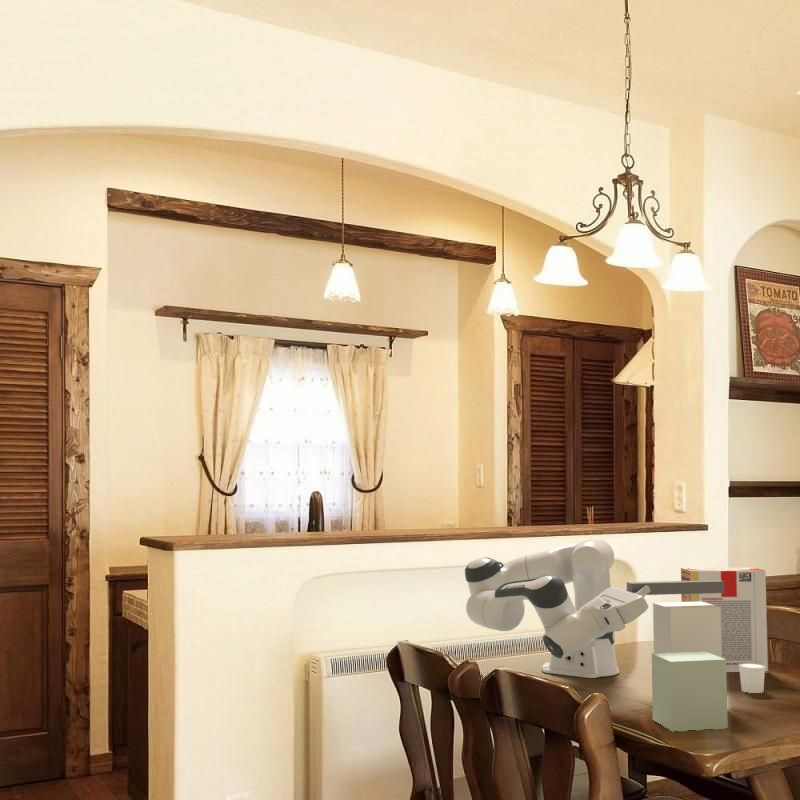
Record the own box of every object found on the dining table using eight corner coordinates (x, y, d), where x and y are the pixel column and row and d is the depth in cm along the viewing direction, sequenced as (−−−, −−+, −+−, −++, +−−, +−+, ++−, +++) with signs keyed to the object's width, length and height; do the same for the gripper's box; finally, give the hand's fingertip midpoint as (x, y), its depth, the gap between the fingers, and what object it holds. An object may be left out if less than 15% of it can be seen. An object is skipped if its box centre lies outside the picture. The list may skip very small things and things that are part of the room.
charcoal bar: (631, 595, 247) (631, 583, 247) (626, 593, 249) (626, 582, 250) (724, 592, 251) (724, 581, 252) (718, 591, 254) (718, 580, 255)
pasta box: (756, 666, 292) (754, 567, 294) (767, 672, 284) (765, 570, 286) (682, 667, 291) (680, 568, 293) (692, 673, 283) (690, 571, 285)
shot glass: (763, 695, 256) (762, 669, 257) (736, 692, 260) (735, 666, 260) (768, 690, 262) (767, 664, 262) (742, 687, 266) (741, 661, 266)
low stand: (672, 731, 222) (670, 661, 223) (652, 720, 231) (651, 653, 232) (727, 728, 224) (726, 659, 225) (706, 717, 234) (704, 651, 235)
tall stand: (672, 708, 243) (670, 608, 245) (654, 698, 253) (653, 602, 254) (722, 705, 246) (720, 607, 247) (703, 696, 255) (701, 601, 257)
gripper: (591, 618, 257) (633, 591, 259) (623, 632, 236) (668, 602, 239) (580, 598, 256) (622, 571, 259) (611, 610, 236) (656, 580, 239)
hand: (644, 586), depth 249 cm, fingers closed on charcoal bar, 3 cm apart
